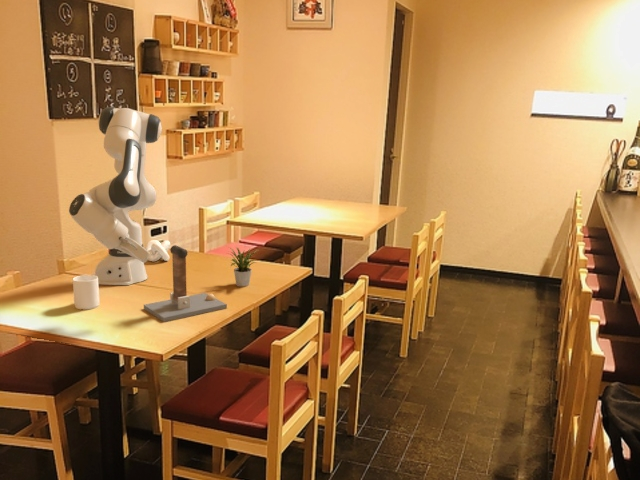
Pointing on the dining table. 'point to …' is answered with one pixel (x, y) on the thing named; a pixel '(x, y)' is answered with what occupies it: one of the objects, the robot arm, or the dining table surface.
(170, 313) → the press base
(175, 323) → the dining table surface
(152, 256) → the white knot sculpture
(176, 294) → the lever
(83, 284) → the mug
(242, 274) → the house plant
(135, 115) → the robot arm
